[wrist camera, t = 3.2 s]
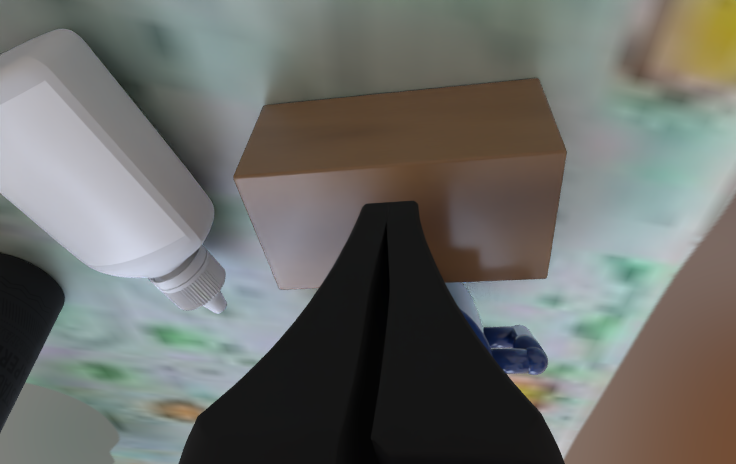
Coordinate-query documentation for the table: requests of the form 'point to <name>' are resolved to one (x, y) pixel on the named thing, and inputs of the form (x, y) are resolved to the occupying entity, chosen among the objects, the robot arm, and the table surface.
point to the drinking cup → (23, 324)
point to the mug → (502, 338)
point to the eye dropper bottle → (101, 172)
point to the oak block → (409, 178)
